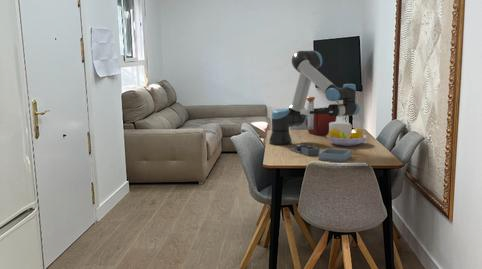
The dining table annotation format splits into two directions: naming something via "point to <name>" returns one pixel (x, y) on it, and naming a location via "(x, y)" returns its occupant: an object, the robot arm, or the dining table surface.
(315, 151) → the bracket
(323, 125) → the plant pot
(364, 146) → the dining table surface
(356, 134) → the fruit bowl
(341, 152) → the tray
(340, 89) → the robot arm
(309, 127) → the lock pin
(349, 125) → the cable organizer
